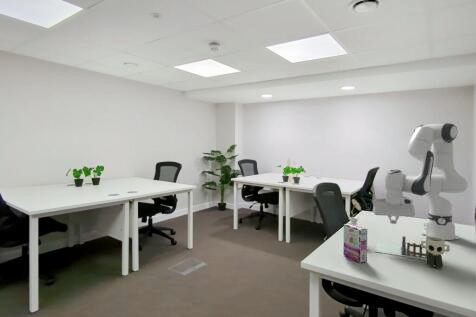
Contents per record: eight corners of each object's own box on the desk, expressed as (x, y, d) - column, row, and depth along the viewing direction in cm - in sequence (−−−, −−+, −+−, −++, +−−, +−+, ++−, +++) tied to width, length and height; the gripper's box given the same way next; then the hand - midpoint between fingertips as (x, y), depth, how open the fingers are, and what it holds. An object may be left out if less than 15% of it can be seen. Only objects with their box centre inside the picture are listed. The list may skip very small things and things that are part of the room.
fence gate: (405, 247, 149) (405, 236, 149) (405, 252, 141) (405, 241, 141) (402, 246, 150) (402, 236, 150) (402, 252, 142) (402, 241, 142)
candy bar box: (367, 262, 131) (368, 228, 131) (359, 263, 130) (360, 229, 129) (350, 253, 142) (350, 222, 141) (342, 255, 140) (343, 223, 140)
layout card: (376, 243, 158) (376, 242, 158) (427, 250, 146) (428, 250, 146) (375, 252, 144) (375, 251, 144) (432, 261, 133) (432, 260, 133)
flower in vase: (365, 245, 154) (366, 202, 153) (343, 243, 158) (344, 200, 157) (362, 238, 166) (363, 198, 165) (342, 236, 170) (343, 197, 169)
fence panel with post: (401, 254, 142) (402, 240, 141) (429, 258, 136) (429, 244, 136) (401, 255, 140) (402, 241, 140) (429, 259, 135) (429, 245, 134)
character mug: (420, 266, 127) (421, 239, 126) (420, 261, 133) (420, 234, 132) (450, 272, 121) (450, 243, 120) (448, 266, 127) (449, 239, 126)
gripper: (374, 199, 150) (374, 224, 151) (416, 201, 145) (415, 226, 146) (371, 197, 156) (371, 220, 157) (411, 198, 151) (411, 222, 152)
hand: (393, 223), depth 151 cm, fingers closed
